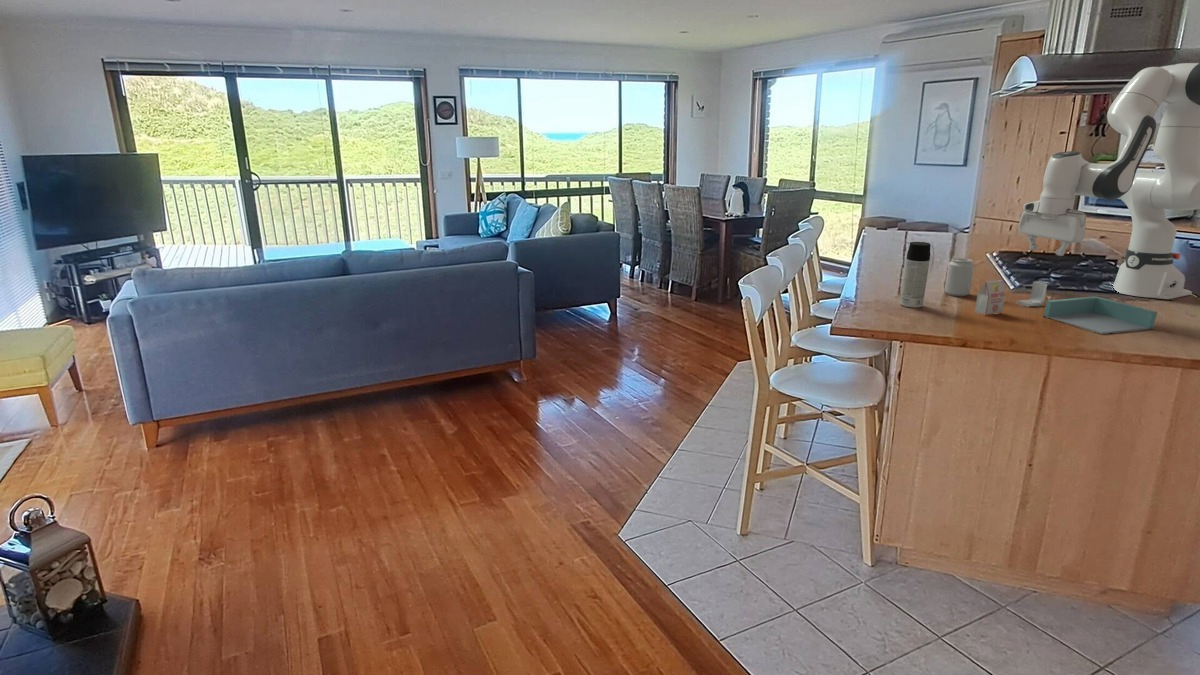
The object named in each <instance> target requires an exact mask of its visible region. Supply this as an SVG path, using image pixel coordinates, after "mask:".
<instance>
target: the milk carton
mask: <svg viewBox="0 0 1200 675" xmlns="http://www.w3.org/2000/svg"><path fill="white" fill-rule="evenodd" d="M1005 299H1006V291H1005V287H1004V280H1002V279H1001V280H1000V279H999V280H993V281H984V283H983V286H982V287H981V289H980V290H979V292H977V295H976V302H975V308H974V313H975V312H977V313H981V314H984V315H987V314H994V313H1001V312H1002V313H1003V310H1004V304H1005ZM977 313H976V314H977Z"/></svg>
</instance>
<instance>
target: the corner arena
mask: <svg viewBox="0 0 1200 675" xmlns="http://www.w3.org/2000/svg"><path fill="white" fill-rule="evenodd" d="M1157 315H1158V311H1154V310H1152V309H1147V308H1144V307H1141V306H1140V307H1139V306H1135V305H1132V304H1127V303H1123V302H1120V301H1115V300H1112V299H1108V298H1104V297H1100V296H1097V295H1095V296H1086V297H1085V296H1083V297H1082V296H1081V297H1074V298H1061V299H1051V300H1046V301H1045V307H1044V312H1043V316H1045V317H1048V318H1051V319H1054V320H1053V321H1055V320H1058V321H1061V322H1064V323H1067V324H1066V325H1068V324H1071V325H1074V326H1077V327H1080V328H1079V329H1081V328H1084V329H1087V330H1090V331H1093V332H1092V333H1094V332H1096V333H1095V334H1097V333H1100V334H1103V335H1110V334H1109V333H1113V334H1122V333H1131V332H1139V331H1140V332H1141V331H1149V330H1153V329H1154V326H1155V323H1156V322H1155V321H1156V318H1157ZM1045 317H1044V318H1045ZM1048 318H1047V319H1048ZM1051 319H1050V320H1051ZM1058 321H1057V322H1058ZM1061 322H1060V323H1061ZM1064 323H1063V324H1064ZM1071 325H1070V326H1071ZM1074 326H1073V327H1074ZM1077 327H1076V328H1077ZM1084 329H1083V330H1084ZM1087 330H1086V331H1087ZM1090 331H1089V332H1090ZM1121 332H1122V333H1121ZM1100 334H1099V335H1100Z"/></svg>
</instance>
